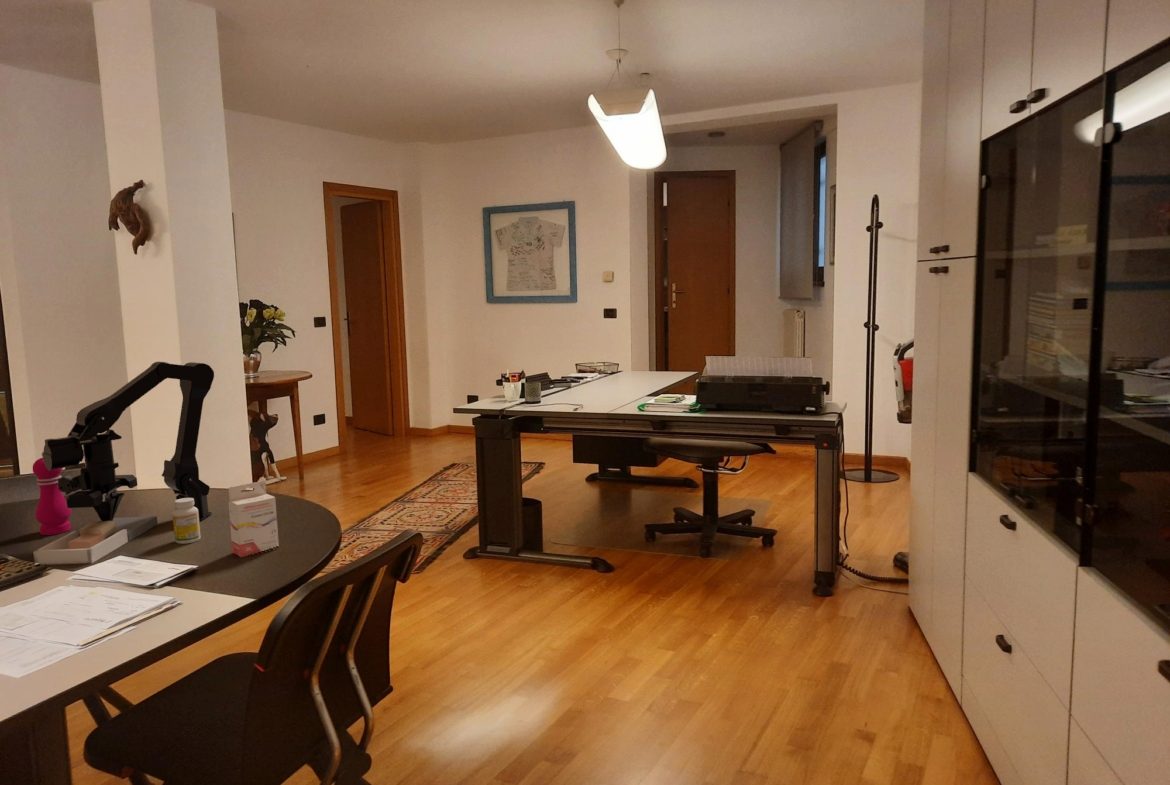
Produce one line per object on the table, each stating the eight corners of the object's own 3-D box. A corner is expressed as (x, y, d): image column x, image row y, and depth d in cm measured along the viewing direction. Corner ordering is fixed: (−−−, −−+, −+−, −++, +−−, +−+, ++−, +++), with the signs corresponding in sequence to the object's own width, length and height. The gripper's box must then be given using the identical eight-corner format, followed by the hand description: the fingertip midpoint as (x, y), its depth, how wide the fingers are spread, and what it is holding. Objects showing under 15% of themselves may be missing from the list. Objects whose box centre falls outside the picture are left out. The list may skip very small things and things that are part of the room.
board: (157, 524, 196) (156, 516, 196) (129, 541, 184) (128, 532, 183) (108, 525, 196) (107, 518, 196) (76, 543, 183) (75, 534, 183)
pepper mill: (55, 536, 189) (45, 454, 186) (30, 535, 190) (19, 453, 187) (80, 527, 196) (70, 447, 193) (55, 526, 197) (45, 447, 194)
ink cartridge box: (241, 558, 170) (234, 491, 168) (232, 553, 173) (225, 487, 171) (280, 548, 176) (274, 483, 174) (270, 543, 179) (265, 479, 177)
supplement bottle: (194, 543, 180) (190, 502, 179) (170, 544, 180) (166, 503, 179) (205, 536, 186) (201, 496, 184) (181, 537, 185) (177, 497, 184)
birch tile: (116, 530, 185) (114, 520, 184) (103, 539, 180) (101, 528, 179) (95, 531, 185) (93, 521, 184) (81, 539, 180) (79, 529, 179)
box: (127, 541, 183) (126, 529, 183) (92, 563, 169) (90, 549, 169) (75, 543, 183) (73, 531, 182) (35, 565, 169) (33, 551, 169)
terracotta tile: (105, 545, 180) (104, 534, 180) (91, 552, 175) (89, 541, 175) (84, 545, 180) (82, 534, 180) (69, 552, 175) (67, 542, 175)
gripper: (88, 453, 192) (96, 515, 195) (37, 472, 174) (46, 540, 176) (134, 451, 192) (142, 513, 195) (88, 470, 174) (97, 539, 176)
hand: (107, 526), depth 186 cm, fingers closed
